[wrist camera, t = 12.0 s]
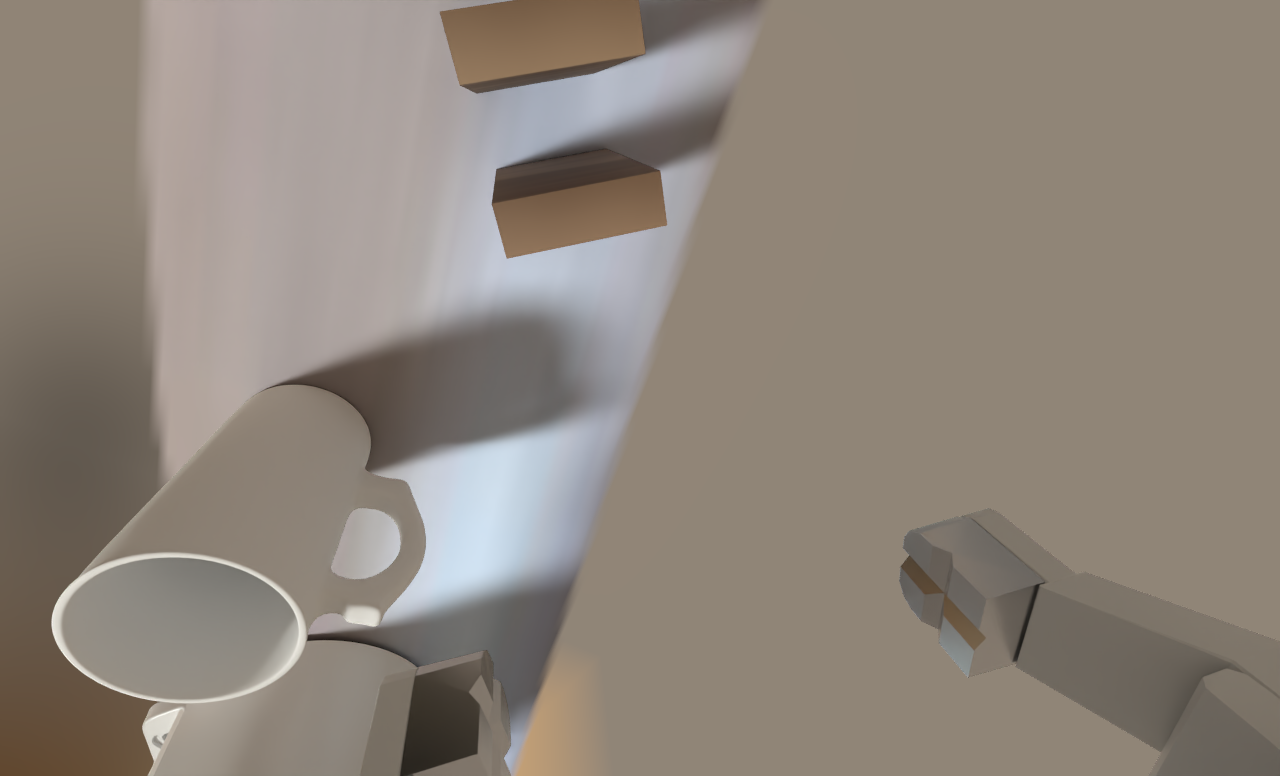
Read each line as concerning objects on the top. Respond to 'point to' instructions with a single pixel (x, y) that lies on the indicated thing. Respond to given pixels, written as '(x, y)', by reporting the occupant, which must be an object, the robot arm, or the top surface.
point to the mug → (238, 556)
